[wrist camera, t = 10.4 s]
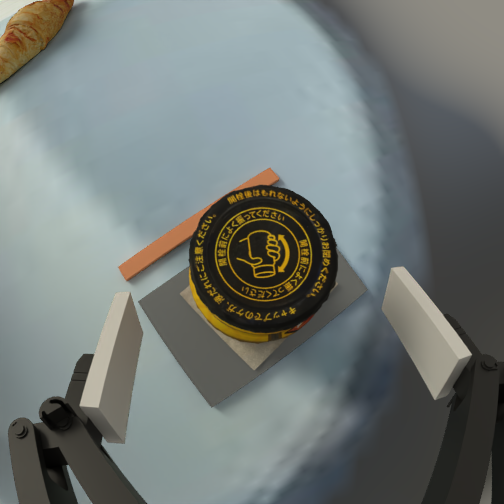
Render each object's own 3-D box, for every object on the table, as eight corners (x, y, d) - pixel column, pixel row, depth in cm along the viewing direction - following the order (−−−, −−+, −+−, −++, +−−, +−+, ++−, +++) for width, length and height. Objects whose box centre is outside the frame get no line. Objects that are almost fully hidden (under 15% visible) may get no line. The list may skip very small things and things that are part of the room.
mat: (140, 302, 22) (138, 301, 22) (293, 198, 25) (294, 195, 24) (212, 405, 21) (211, 407, 20) (364, 290, 23) (367, 289, 23)
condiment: (180, 294, 22) (124, 246, 10) (265, 214, 24) (292, 109, 12) (253, 370, 21) (277, 408, 9) (337, 284, 23) (426, 232, 11)
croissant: (13, 110, 31) (4, 79, 24) (-34, 91, 26) (-46, 61, 19) (91, 13, 36) (99, -20, 29) (47, -1, 31) (50, -33, 25)
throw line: (119, 268, 23) (118, 266, 22) (269, 169, 25) (270, 167, 25) (127, 281, 23) (125, 280, 22) (278, 180, 25) (279, 178, 25)
